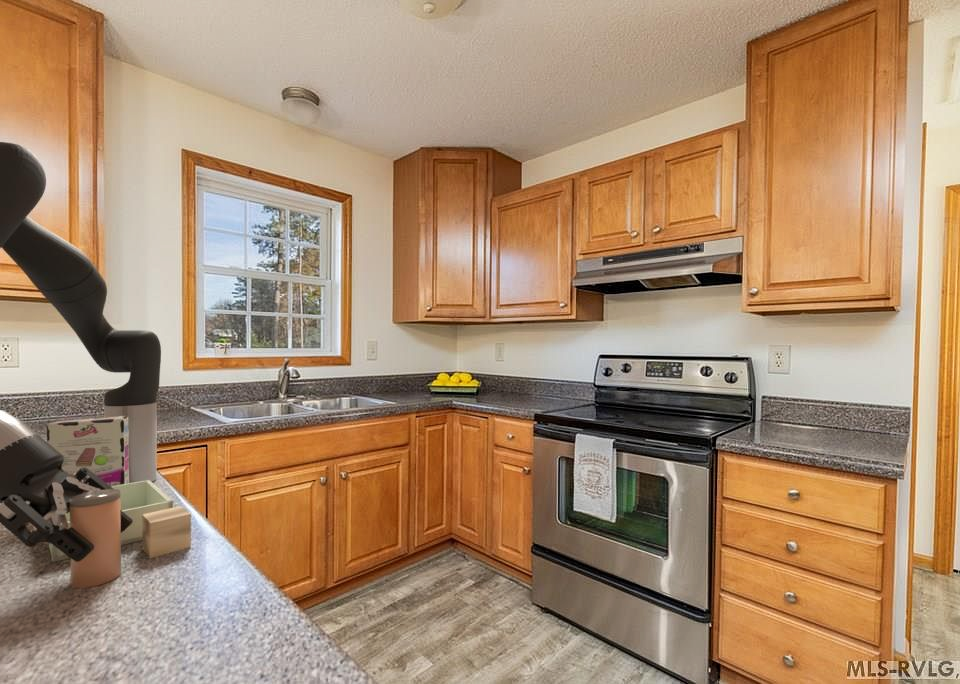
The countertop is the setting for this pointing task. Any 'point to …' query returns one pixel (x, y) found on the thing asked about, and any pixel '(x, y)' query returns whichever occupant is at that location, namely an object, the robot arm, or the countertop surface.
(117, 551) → the spice jar
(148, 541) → the maple block
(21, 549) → the countertop surface
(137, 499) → the tote
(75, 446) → the candy bar box
